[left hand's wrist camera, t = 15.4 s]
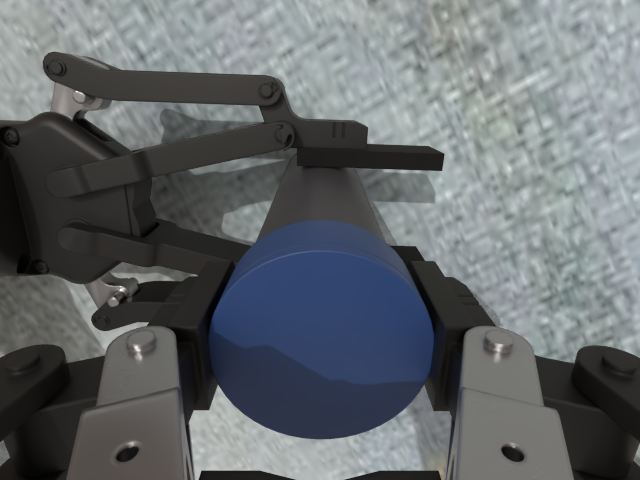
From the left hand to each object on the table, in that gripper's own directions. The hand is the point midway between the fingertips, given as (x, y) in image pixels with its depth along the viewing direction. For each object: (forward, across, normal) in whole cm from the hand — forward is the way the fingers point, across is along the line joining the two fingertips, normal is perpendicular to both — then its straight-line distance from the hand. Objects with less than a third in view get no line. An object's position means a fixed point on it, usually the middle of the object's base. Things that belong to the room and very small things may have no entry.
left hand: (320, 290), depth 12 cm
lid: (-3, 0, 0) cm, 3 cm away
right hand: (+8, -5, 0) cm, 10 cm away
